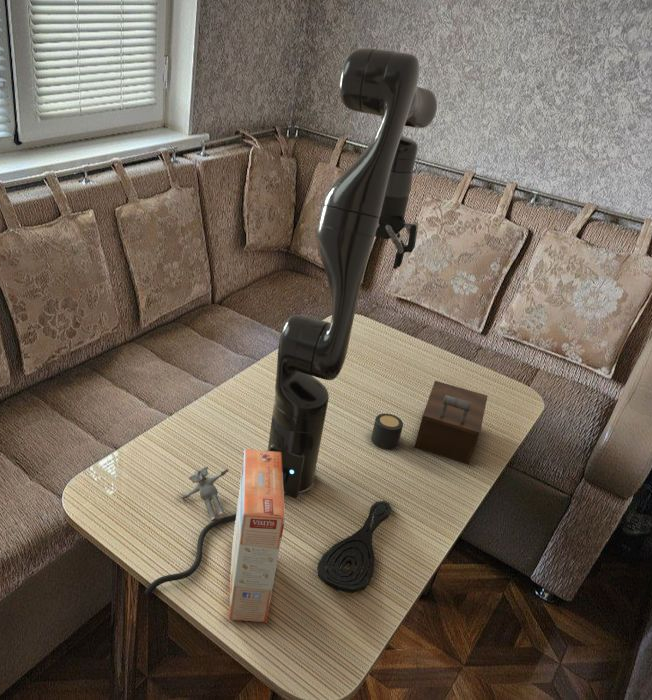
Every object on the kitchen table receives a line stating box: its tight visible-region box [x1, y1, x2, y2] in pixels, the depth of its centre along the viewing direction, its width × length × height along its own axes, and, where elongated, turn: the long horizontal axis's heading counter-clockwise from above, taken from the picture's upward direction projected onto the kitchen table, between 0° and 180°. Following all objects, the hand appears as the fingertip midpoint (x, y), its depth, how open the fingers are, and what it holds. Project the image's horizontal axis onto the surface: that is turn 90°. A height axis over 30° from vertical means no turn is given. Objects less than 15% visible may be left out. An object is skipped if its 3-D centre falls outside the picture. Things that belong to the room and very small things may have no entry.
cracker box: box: [228, 448, 286, 623], centre depth 98 cm, size 14×6×21 cm, turn 179°
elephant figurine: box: [180, 466, 229, 522], centre depth 116 cm, size 10×6×9 cm
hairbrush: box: [316, 500, 392, 594], centre depth 111 cm, size 8×4×25 cm
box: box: [413, 418, 480, 466], centre depth 139 cm, size 14×11×8 cm
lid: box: [421, 380, 488, 436], centre depth 135 cm, size 15×11×5 cm
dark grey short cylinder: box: [370, 413, 404, 450], centre depth 137 cm, size 6×6×5 cm
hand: (376, 263), depth 146 cm, fingers open, 8 cm apart
